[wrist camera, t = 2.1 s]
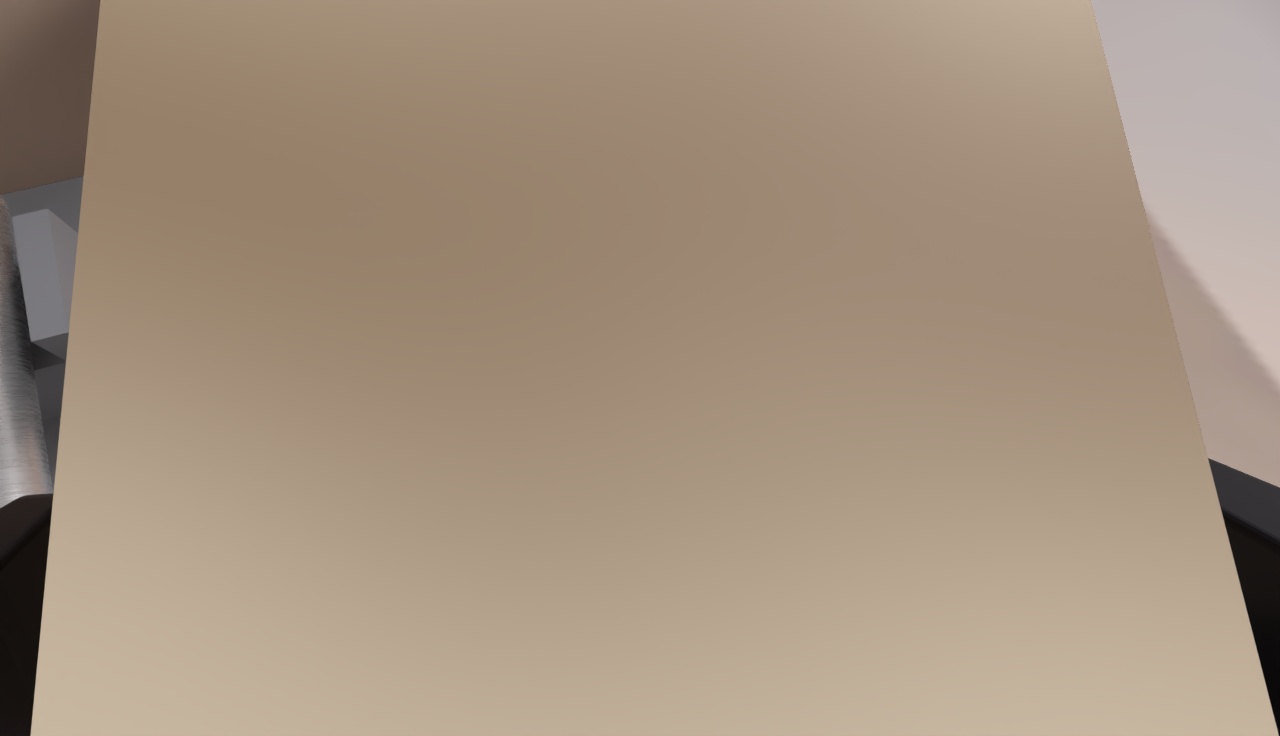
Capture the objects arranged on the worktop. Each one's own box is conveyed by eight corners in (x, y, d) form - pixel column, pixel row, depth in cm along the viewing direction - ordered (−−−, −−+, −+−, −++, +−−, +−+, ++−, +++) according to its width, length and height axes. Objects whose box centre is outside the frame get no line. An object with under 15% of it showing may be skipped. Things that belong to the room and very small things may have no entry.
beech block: (730, 658, 16) (1283, 746, 4) (447, 683, 16) (18, 879, 3) (702, 389, 18) (1041, -194, 5) (441, 404, 17) (119, -202, 5)
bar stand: (425, 1214, 14) (372, 1443, 10) (76, 1362, 13) (-131, 1674, 9) (203, 172, 18) (105, 49, 14) (-68, 235, 17) (-250, 121, 13)
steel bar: (192, 1295, 11) (156, 1360, 10) (104, 1332, 11) (59, 1402, 10) (20, 193, 14) (-19, 162, 13) (-48, 208, 14) (-92, 178, 13)
